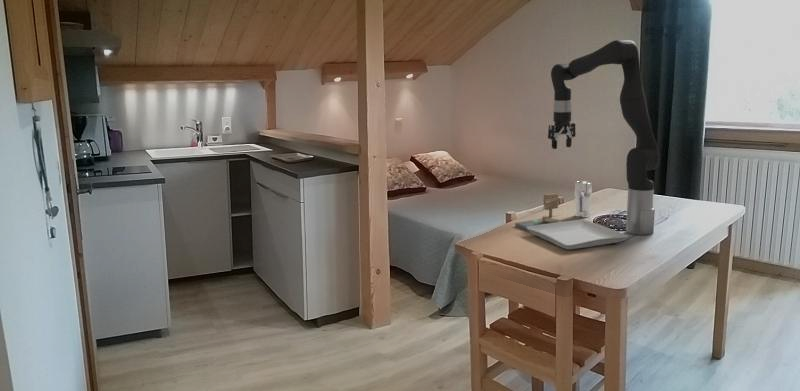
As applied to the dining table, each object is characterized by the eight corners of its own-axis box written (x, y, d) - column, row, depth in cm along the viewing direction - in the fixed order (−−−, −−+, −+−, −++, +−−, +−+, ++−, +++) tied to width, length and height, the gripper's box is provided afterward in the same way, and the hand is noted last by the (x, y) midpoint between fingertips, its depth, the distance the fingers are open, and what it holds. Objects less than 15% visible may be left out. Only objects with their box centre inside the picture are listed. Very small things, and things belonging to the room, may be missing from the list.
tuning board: (570, 227, 254) (570, 223, 254) (534, 233, 246) (534, 229, 246) (549, 220, 265) (549, 217, 265) (515, 226, 257) (515, 222, 257)
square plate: (524, 235, 245) (524, 226, 244) (583, 227, 254) (583, 218, 253) (566, 254, 220) (566, 243, 219) (629, 244, 229) (630, 234, 228)
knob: (561, 222, 255) (562, 194, 253) (539, 225, 251) (540, 197, 248) (551, 218, 261) (552, 191, 259) (529, 222, 256) (530, 195, 254)
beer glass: (588, 214, 274) (590, 180, 271) (592, 218, 268) (593, 183, 265) (572, 214, 275) (573, 180, 272) (575, 217, 268) (576, 183, 265)
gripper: (556, 112, 266) (556, 150, 269) (580, 110, 273) (579, 147, 276) (544, 111, 272) (543, 148, 275) (567, 109, 279) (566, 145, 283)
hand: (561, 147), depth 276 cm, fingers open, 8 cm apart
